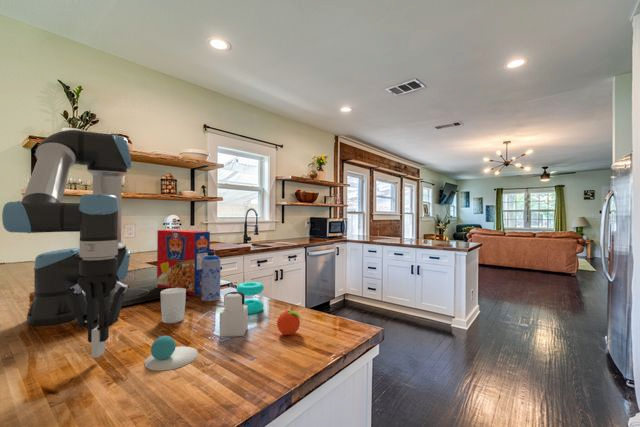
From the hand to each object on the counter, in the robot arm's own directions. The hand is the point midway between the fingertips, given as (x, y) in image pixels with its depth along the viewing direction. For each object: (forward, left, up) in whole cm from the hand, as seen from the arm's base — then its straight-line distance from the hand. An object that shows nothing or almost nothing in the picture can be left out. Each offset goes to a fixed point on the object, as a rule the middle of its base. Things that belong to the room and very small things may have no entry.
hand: (98, 354), depth 72 cm
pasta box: (-2, +70, -2) cm, 70 cm away
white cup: (+8, +28, -2) cm, 29 cm away
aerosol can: (+15, +53, -2) cm, 55 cm away
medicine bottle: (+30, +15, -2) cm, 34 cm away
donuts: (+33, +35, -2) cm, 48 cm away
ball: (+15, 0, +1) cm, 15 cm away
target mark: (+17, 0, -2) cm, 17 cm away
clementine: (+47, +11, -2) cm, 48 cm away
